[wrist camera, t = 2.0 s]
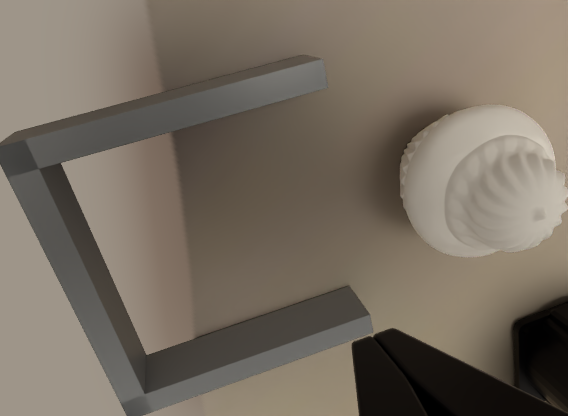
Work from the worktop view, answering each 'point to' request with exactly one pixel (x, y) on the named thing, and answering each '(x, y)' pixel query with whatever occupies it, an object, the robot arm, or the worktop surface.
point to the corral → (95, 275)
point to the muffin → (482, 182)
